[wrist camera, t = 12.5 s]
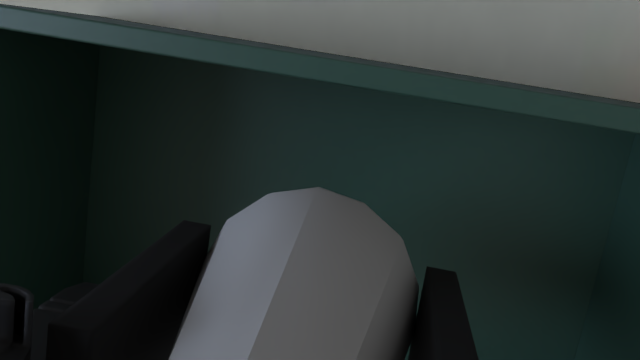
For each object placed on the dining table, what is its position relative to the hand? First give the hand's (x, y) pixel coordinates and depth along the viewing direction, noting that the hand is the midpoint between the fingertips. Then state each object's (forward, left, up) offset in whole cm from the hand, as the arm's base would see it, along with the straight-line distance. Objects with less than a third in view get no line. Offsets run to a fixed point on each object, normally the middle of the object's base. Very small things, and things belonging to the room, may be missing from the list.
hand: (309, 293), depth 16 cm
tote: (0, 0, -7) cm, 7 cm away
